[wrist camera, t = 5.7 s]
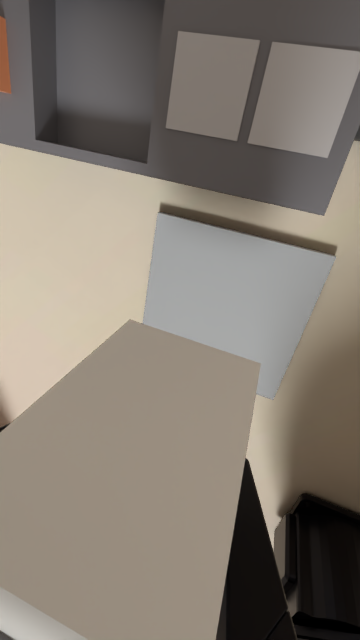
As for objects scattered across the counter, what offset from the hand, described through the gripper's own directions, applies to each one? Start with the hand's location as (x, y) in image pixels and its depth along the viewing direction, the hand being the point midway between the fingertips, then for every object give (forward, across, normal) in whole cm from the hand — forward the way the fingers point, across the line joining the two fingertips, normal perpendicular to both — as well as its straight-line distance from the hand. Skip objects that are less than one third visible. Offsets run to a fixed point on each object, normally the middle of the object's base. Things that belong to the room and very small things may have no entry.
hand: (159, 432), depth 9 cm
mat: (+10, 0, 0) cm, 10 cm away
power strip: (+10, +2, -10) cm, 14 cm away
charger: (+2, 0, 0) cm, 2 cm away
